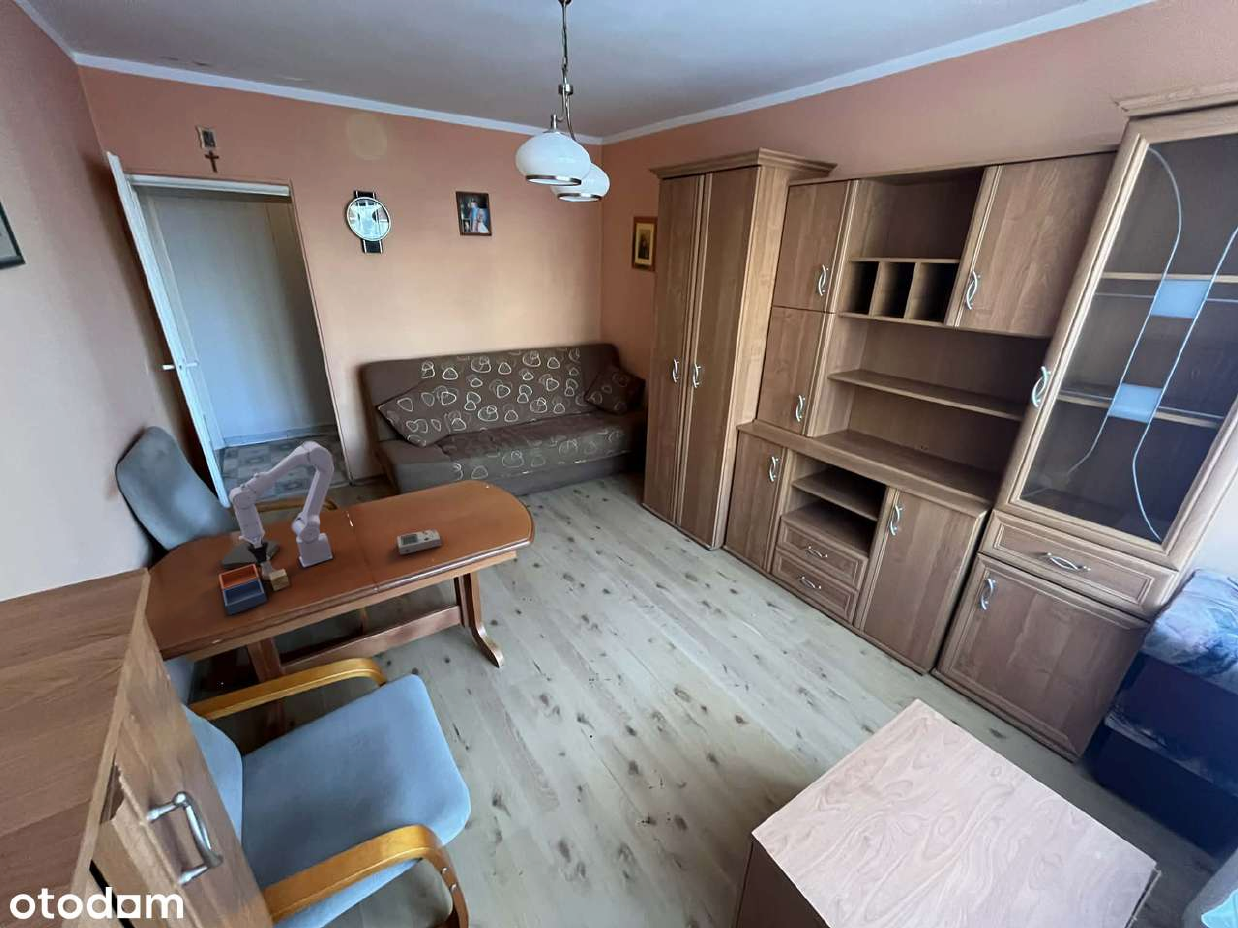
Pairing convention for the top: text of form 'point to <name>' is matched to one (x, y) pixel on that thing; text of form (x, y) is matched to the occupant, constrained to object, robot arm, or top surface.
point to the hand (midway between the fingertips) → (261, 556)
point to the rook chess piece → (267, 569)
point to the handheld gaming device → (418, 541)
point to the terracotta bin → (238, 576)
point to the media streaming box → (246, 555)
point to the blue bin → (244, 596)
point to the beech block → (279, 579)
